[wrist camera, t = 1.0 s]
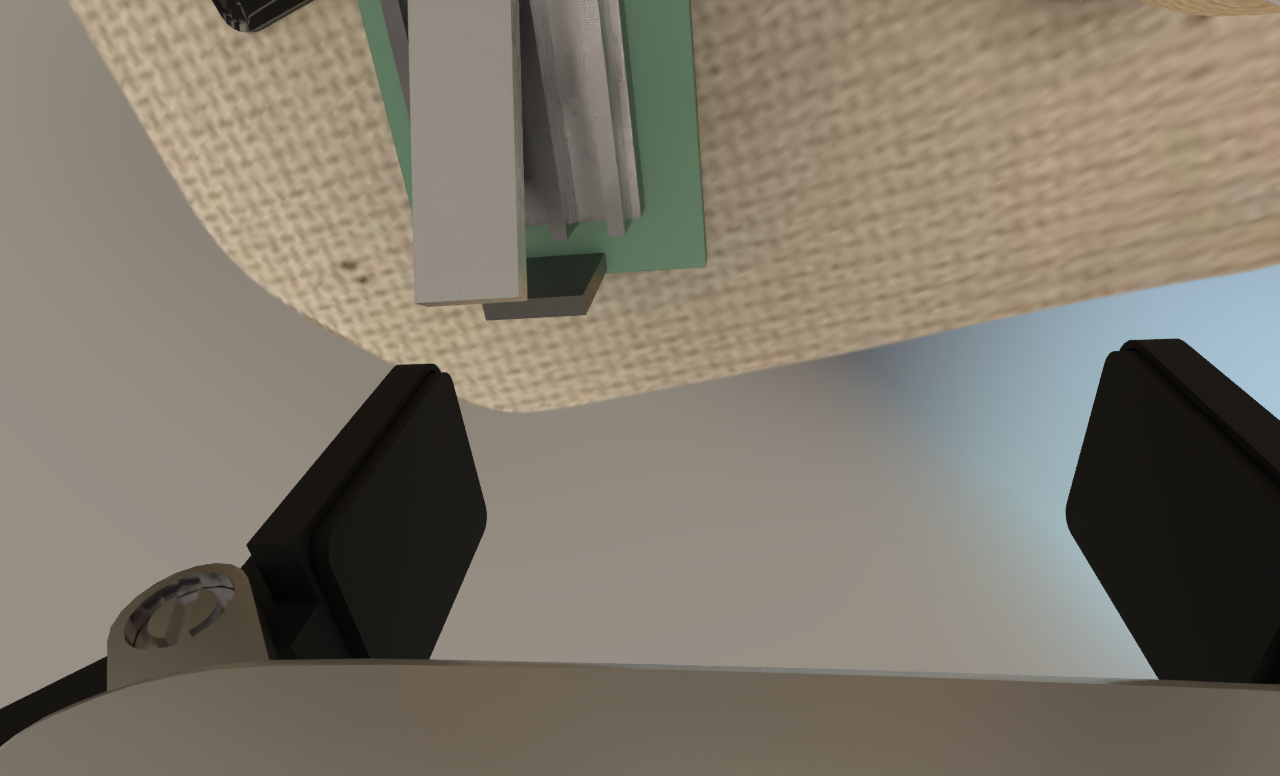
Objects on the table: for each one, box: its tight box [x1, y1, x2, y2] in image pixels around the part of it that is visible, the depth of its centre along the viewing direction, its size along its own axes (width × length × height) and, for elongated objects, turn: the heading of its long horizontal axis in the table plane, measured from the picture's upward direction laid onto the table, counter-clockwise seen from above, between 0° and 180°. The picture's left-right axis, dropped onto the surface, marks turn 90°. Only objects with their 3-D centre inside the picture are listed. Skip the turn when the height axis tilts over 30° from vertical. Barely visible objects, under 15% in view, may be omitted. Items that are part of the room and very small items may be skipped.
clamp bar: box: [408, 0, 527, 307], centre depth 27 cm, size 16×4×1 cm, turn 6°
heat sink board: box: [358, 0, 707, 320], centre depth 33 cm, size 20×16×8 cm
